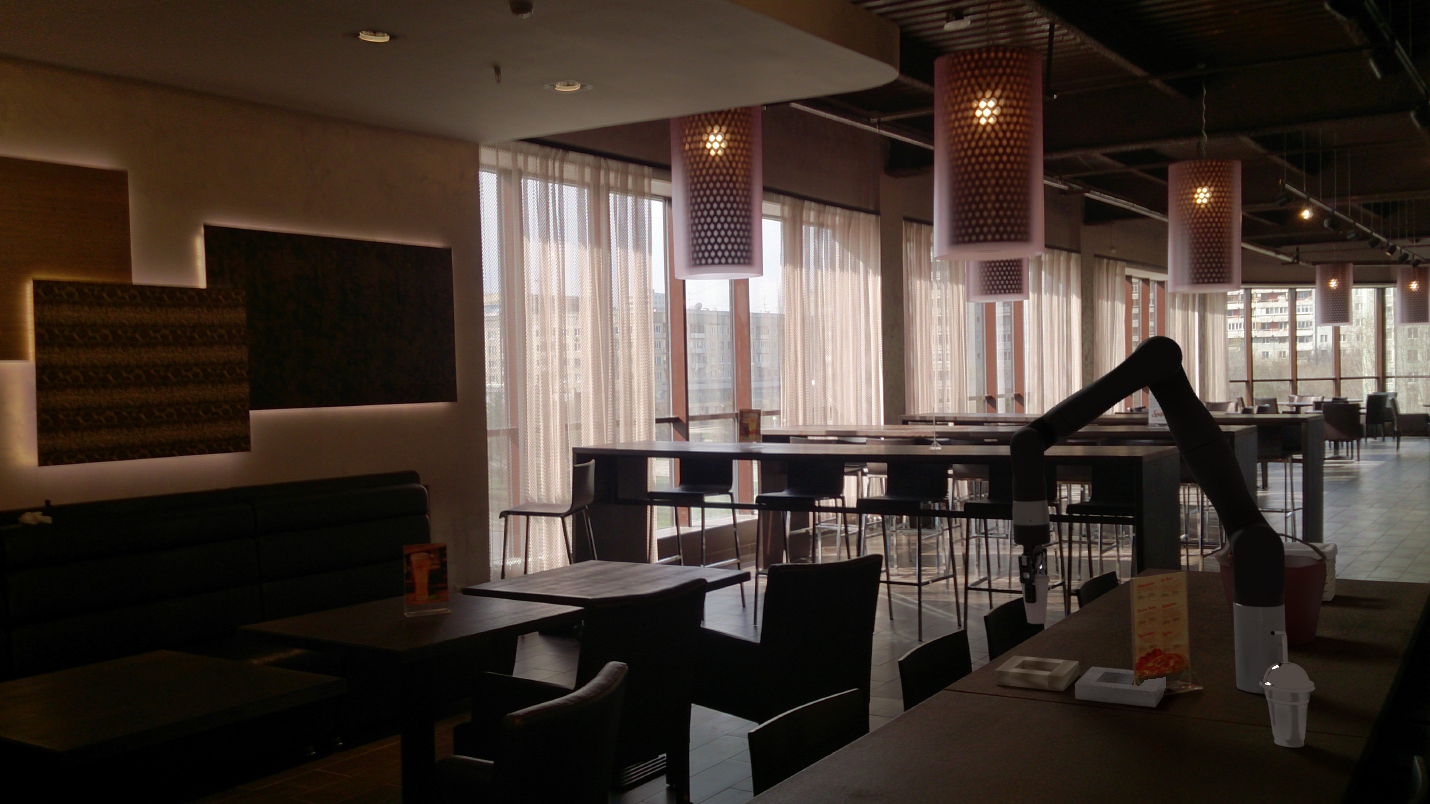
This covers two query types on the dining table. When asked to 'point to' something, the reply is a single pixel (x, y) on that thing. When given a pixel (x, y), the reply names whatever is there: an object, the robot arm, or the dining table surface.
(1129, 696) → the ring
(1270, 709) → the cup with straw
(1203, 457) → the robot arm
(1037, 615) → the smoothie
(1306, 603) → the bucket
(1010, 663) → the socket block
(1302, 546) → the storage basket
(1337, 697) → the dining table surface
